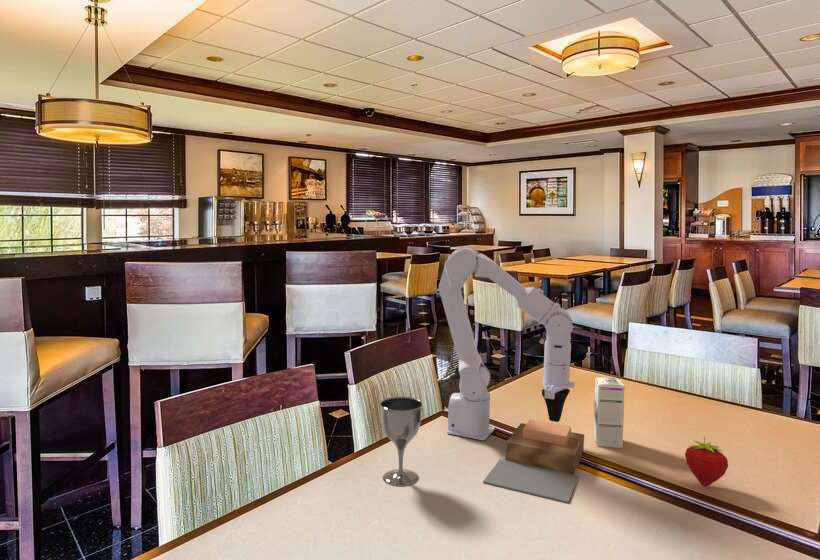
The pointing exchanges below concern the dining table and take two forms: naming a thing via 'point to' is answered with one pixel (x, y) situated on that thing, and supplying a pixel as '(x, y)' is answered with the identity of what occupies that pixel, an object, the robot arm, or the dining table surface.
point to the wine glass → (401, 434)
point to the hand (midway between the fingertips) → (554, 420)
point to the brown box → (545, 452)
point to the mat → (532, 480)
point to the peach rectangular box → (547, 432)
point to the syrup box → (609, 412)
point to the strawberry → (706, 462)
